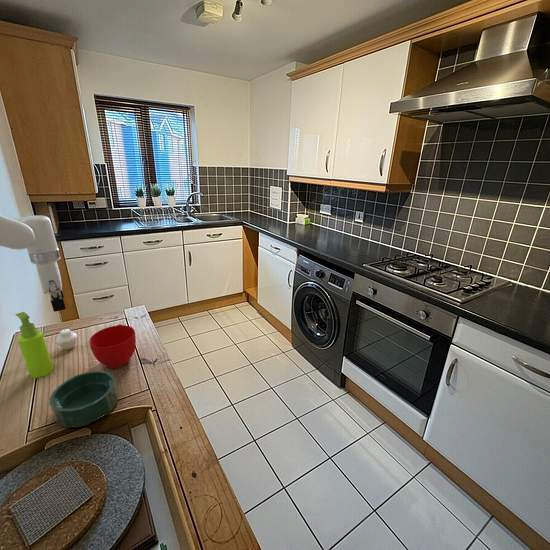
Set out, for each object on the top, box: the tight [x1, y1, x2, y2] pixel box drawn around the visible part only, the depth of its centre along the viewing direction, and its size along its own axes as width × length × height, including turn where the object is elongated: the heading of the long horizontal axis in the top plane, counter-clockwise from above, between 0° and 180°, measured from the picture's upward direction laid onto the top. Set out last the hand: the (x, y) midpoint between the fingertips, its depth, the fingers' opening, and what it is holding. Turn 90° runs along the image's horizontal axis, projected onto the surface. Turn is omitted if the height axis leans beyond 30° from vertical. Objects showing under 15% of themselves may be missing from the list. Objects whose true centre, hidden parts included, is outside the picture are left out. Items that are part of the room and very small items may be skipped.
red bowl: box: [88, 323, 137, 369], centre depth 96 cm, size 13×17×10 cm
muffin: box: [55, 328, 78, 350], centre depth 102 cm, size 6×6×7 cm
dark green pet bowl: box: [49, 370, 120, 428], centre depth 78 cm, size 15×15×6 cm
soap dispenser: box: [15, 311, 54, 379], centre depth 88 cm, size 6×7×20 cm
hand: (59, 304), depth 97 cm, fingers open, 9 cm apart
